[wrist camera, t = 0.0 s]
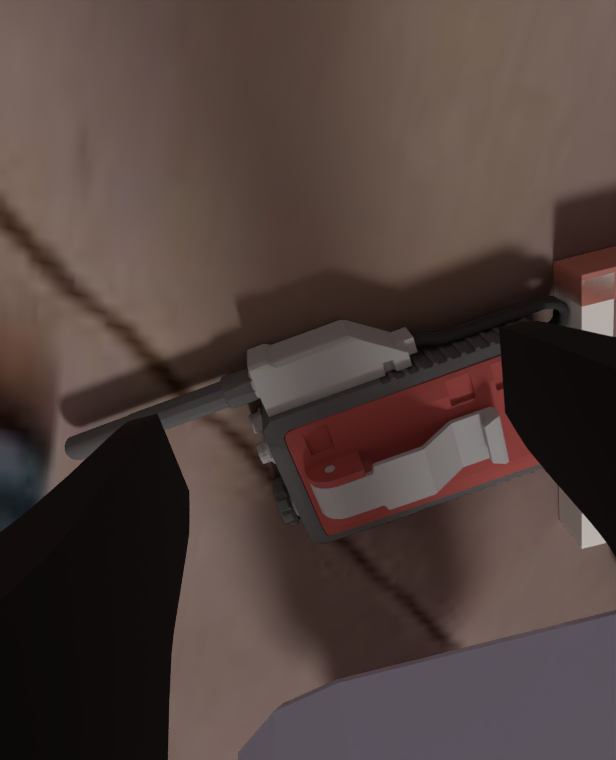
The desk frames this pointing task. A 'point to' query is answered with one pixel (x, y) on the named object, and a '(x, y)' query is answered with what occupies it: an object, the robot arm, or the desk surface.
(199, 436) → the desk surface
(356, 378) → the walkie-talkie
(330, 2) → the desk surface
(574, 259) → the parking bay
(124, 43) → the desk surface
